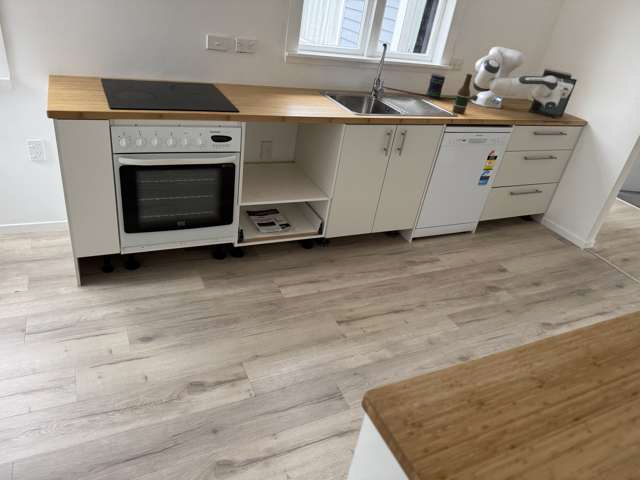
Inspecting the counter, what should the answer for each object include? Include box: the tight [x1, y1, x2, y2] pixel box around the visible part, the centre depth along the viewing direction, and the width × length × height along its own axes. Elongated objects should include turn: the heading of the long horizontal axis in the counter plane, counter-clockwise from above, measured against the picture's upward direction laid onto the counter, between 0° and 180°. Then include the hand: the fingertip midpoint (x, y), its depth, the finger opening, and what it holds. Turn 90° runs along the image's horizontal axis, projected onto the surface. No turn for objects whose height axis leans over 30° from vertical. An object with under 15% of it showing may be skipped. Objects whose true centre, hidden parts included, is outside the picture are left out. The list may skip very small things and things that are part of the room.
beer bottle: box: [452, 73, 473, 115], centre depth 305 cm, size 8×8×24 cm
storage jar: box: [426, 73, 446, 100], centre depth 339 cm, size 10×10×15 cm
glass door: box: [537, 74, 578, 118], centre depth 339 cm, size 9×17×26 cm, turn 65°
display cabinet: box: [528, 67, 573, 119], centre depth 349 cm, size 14×18×30 cm
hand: (558, 79), depth 334 cm, fingers closed on glass door, 2 cm apart
